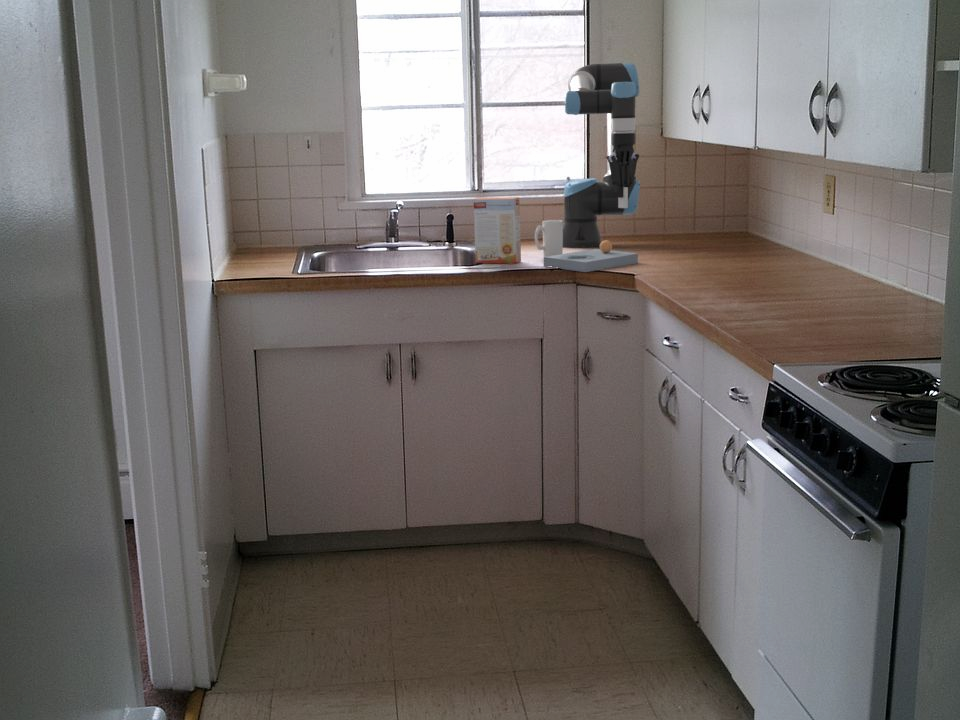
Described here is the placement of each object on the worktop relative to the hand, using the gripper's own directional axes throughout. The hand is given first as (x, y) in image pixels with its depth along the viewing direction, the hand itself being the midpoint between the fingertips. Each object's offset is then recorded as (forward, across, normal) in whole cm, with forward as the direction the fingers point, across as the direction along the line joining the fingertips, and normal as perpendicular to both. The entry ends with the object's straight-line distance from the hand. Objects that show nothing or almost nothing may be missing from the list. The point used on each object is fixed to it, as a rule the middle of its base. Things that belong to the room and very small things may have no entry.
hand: (622, 207), depth 334 cm
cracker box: (+17, +30, -27) cm, 44 cm away
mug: (+17, +12, -22) cm, 30 cm away
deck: (+17, +15, 0) cm, 22 cm away
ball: (+12, +8, 0) cm, 14 cm away
